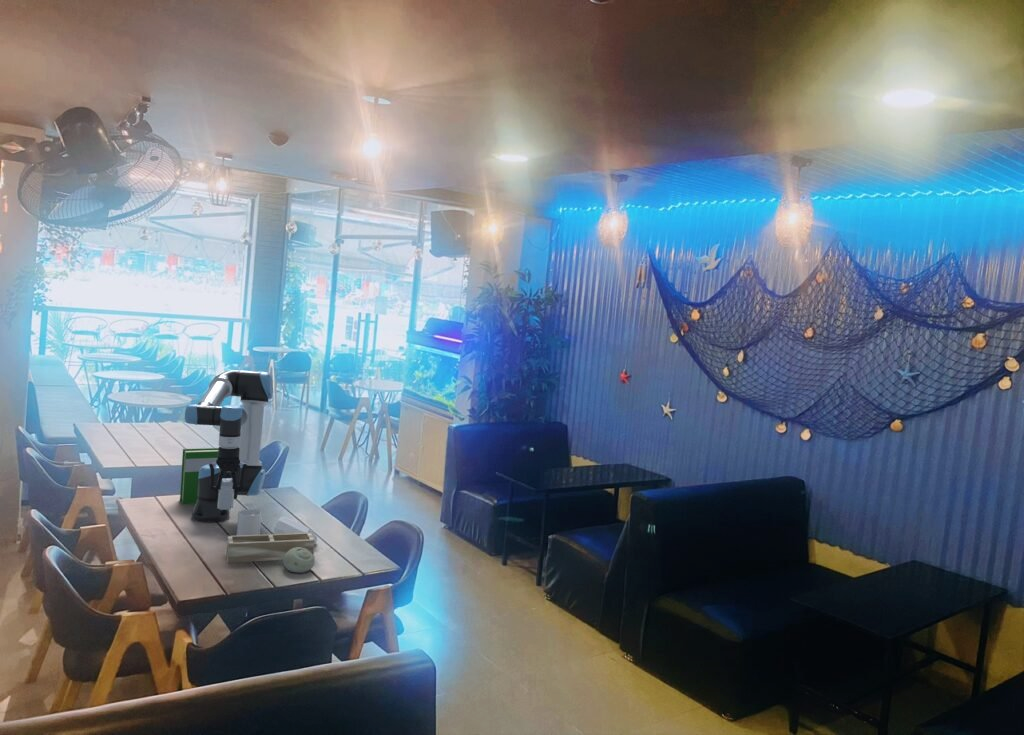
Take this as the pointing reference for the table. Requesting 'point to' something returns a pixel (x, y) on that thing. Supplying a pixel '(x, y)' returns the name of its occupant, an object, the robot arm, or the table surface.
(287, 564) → the seashell
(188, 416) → the robot arm
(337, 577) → the table surface
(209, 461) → the hardback book
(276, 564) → the table surface
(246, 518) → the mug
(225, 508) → the pale blue pillar block
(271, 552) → the well block
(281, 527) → the crystal
